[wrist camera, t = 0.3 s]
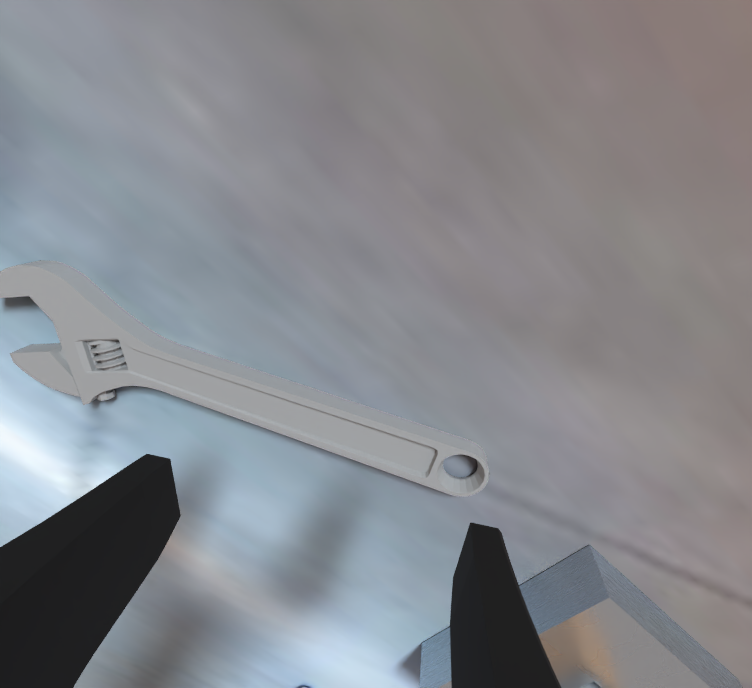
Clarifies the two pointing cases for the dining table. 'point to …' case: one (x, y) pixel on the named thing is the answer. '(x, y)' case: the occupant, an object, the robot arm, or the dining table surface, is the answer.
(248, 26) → the dining table surface
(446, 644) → the socket block
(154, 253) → the dining table surface
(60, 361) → the adjustable wrench
